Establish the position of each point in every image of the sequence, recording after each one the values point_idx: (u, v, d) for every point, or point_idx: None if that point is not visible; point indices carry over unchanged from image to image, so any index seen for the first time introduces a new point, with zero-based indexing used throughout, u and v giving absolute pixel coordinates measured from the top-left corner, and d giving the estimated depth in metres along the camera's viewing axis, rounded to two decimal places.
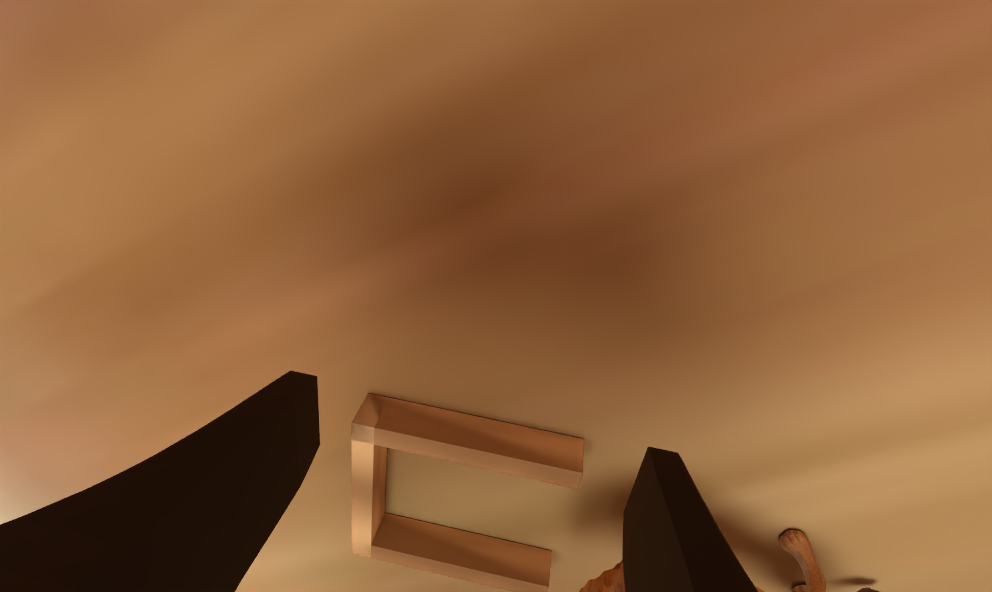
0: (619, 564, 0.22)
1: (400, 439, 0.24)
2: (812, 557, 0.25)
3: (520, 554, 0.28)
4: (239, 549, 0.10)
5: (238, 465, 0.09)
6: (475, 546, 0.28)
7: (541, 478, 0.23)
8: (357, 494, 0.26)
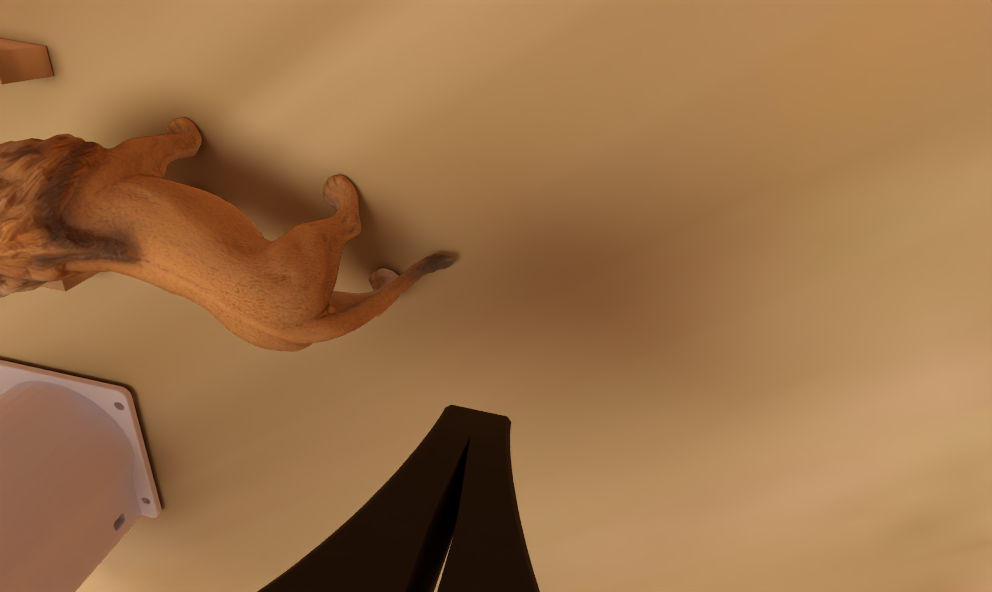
0: None
1: None
2: (350, 202, 0.20)
3: None
4: None
5: (440, 511, 0.09)
6: None
7: None
8: None
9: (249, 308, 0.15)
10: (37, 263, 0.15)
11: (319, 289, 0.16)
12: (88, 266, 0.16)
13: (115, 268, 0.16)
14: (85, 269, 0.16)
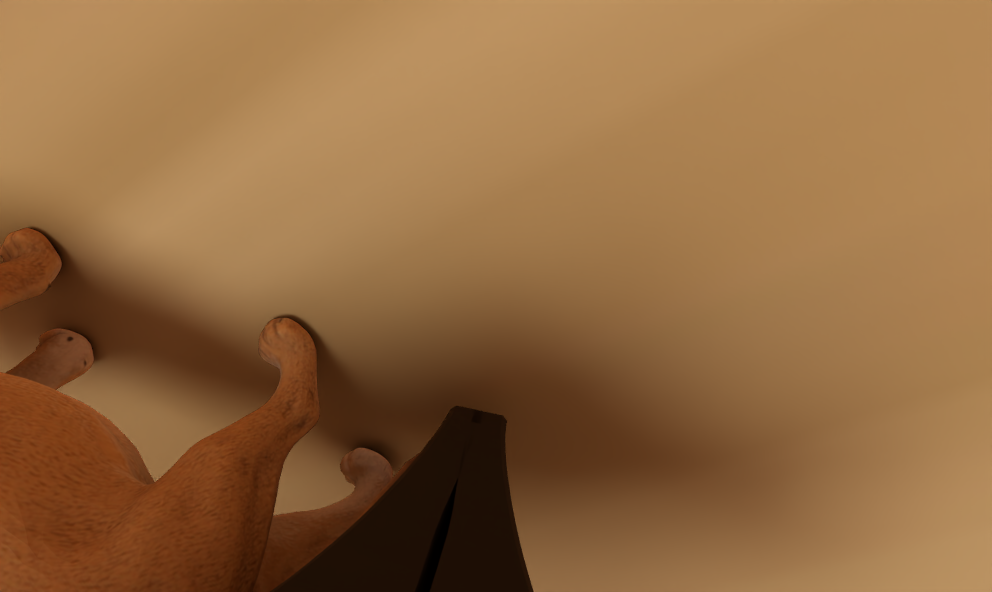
0: None
1: None
2: (301, 367, 0.12)
3: None
4: None
5: (447, 513, 0.09)
6: None
7: None
8: None
9: None
10: None
11: None
12: None
13: None
14: None
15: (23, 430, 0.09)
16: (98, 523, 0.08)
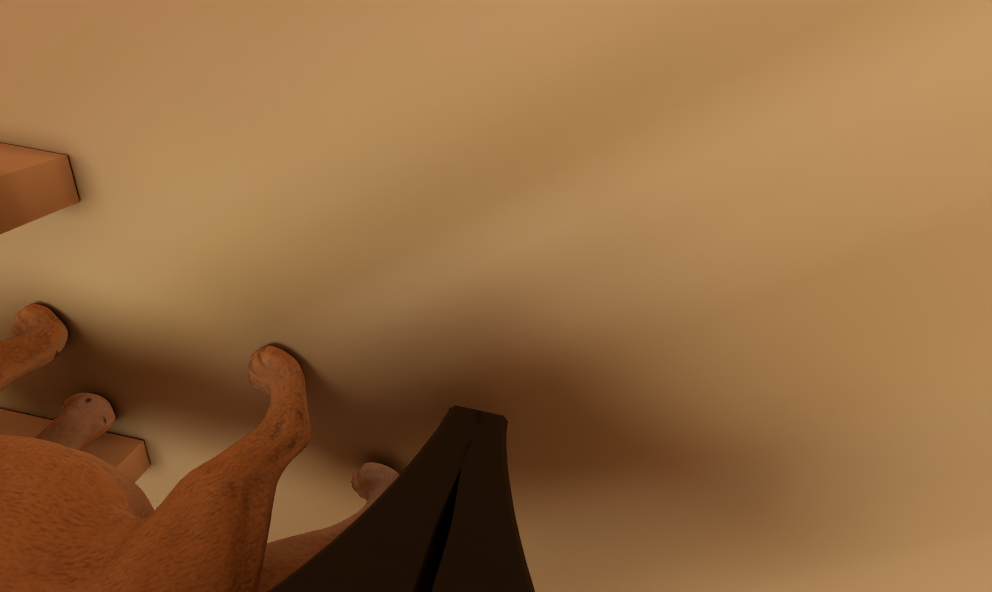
0: None
1: None
2: (288, 390, 0.12)
3: None
4: None
5: (445, 513, 0.09)
6: None
7: None
8: None
9: None
10: None
11: None
12: None
13: None
14: None
15: (26, 483, 0.10)
16: (95, 559, 0.09)
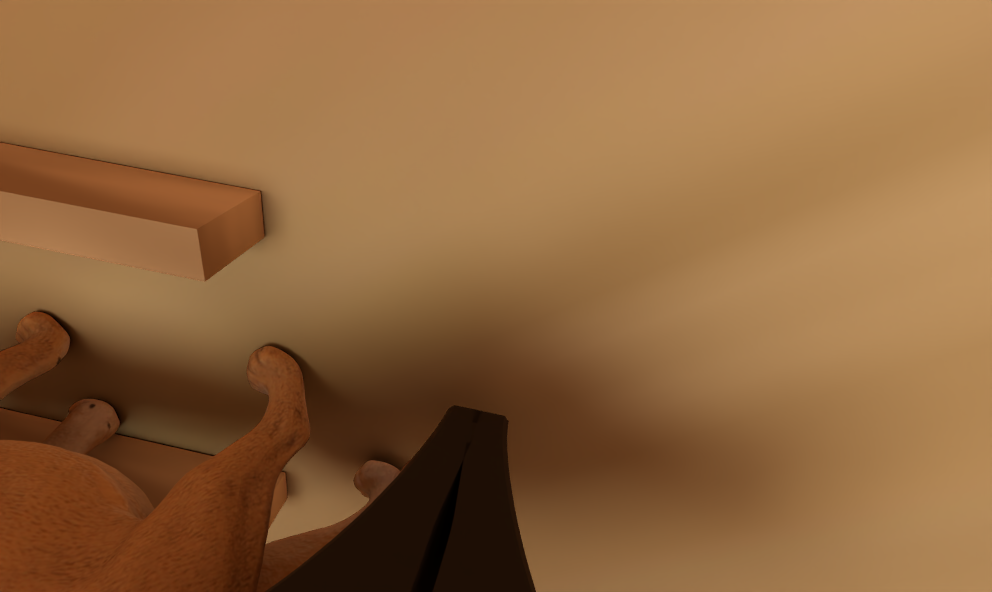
0: None
1: None
2: (286, 389, 0.12)
3: None
4: None
5: (444, 512, 0.09)
6: (131, 462, 0.15)
7: (118, 255, 0.10)
8: None
9: None
10: None
11: None
12: None
13: None
14: None
15: (27, 486, 0.10)
16: (95, 559, 0.09)
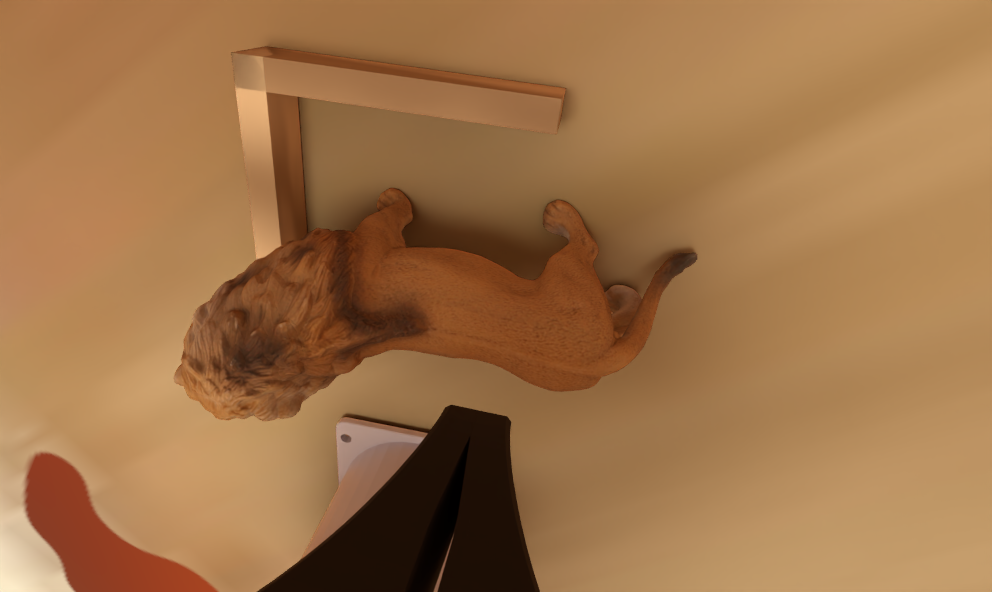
0: None
1: (300, 76, 0.17)
2: (578, 223, 0.19)
3: None
4: None
5: (439, 511, 0.09)
6: None
7: (503, 120, 0.16)
8: (256, 195, 0.19)
9: (552, 351, 0.14)
10: (341, 356, 0.14)
11: (606, 314, 0.15)
12: (378, 349, 0.15)
13: (402, 344, 0.15)
14: (374, 353, 0.15)
15: (468, 259, 0.16)
16: (528, 289, 0.15)
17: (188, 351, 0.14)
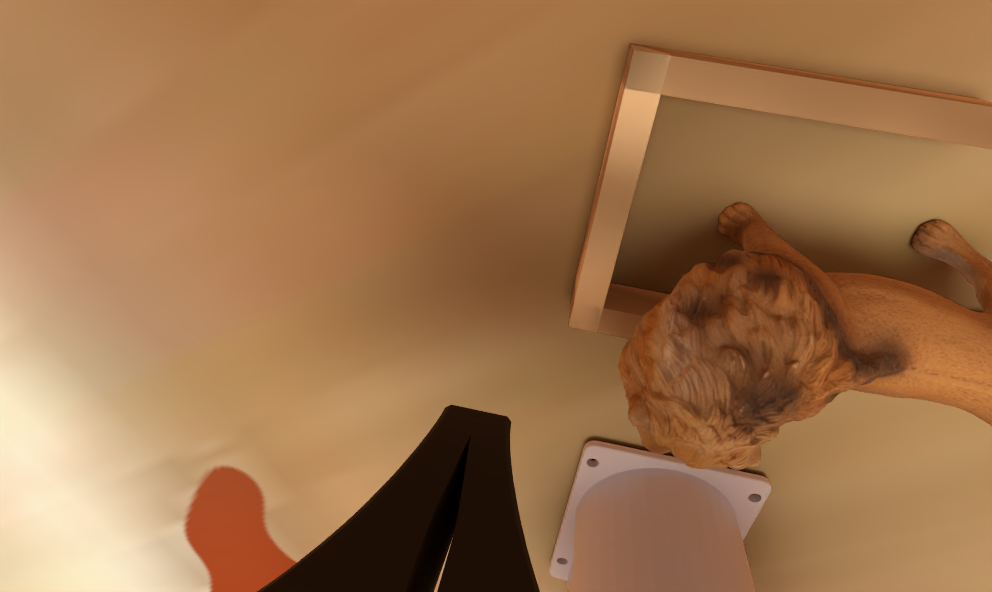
0: None
1: (710, 78, 0.15)
2: (969, 247, 0.17)
3: None
4: None
5: (439, 511, 0.09)
6: None
7: (941, 133, 0.15)
8: (606, 206, 0.17)
9: None
10: (829, 398, 0.13)
11: None
12: None
13: (863, 384, 0.14)
14: None
15: (914, 288, 0.14)
16: None
17: (671, 392, 0.12)
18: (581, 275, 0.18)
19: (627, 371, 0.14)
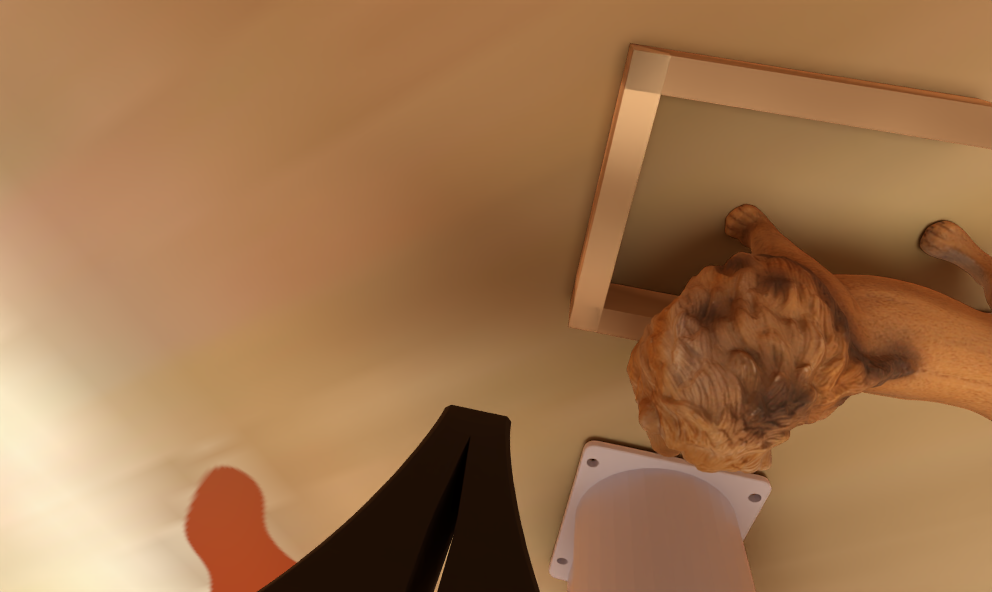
0: None
1: (710, 78, 0.15)
2: (977, 247, 0.17)
3: None
4: None
5: (439, 511, 0.09)
6: None
7: (941, 133, 0.15)
8: (606, 206, 0.17)
9: None
10: (840, 402, 0.13)
11: None
12: None
13: None
14: None
15: (924, 290, 0.14)
16: None
17: (681, 396, 0.12)
18: (581, 275, 0.18)
19: (636, 375, 0.14)
